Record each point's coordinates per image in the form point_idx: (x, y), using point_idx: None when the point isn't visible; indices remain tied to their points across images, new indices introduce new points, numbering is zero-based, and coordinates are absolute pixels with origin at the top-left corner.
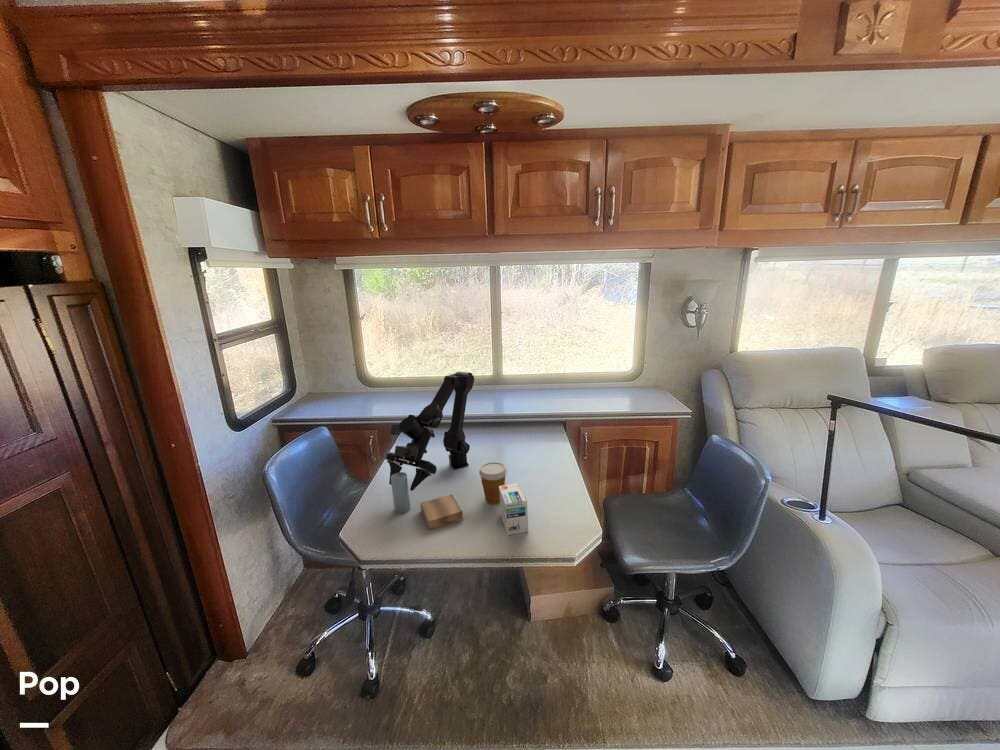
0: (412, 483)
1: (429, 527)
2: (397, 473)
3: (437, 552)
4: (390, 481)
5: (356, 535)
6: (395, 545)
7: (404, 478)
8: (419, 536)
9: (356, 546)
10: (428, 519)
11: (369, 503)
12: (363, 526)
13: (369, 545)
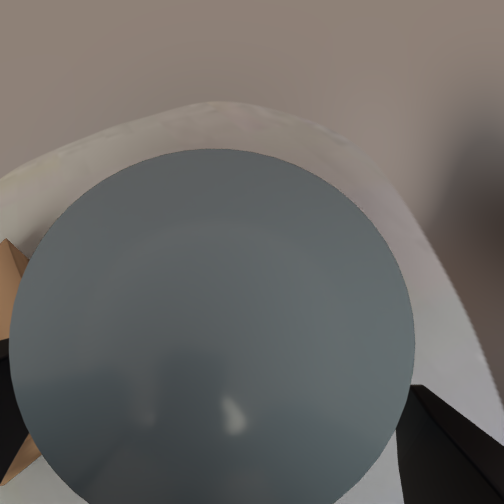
0: (3, 349)
1: (22, 255)
2: (321, 444)
3: (4, 179)
4: (422, 399)
5: (330, 153)
6: (133, 153)
7: (28, 277)
8: (58, 215)
9: (279, 117)
10: (6, 249)
11: (472, 361)
12: (351, 199)
13: (234, 128)
